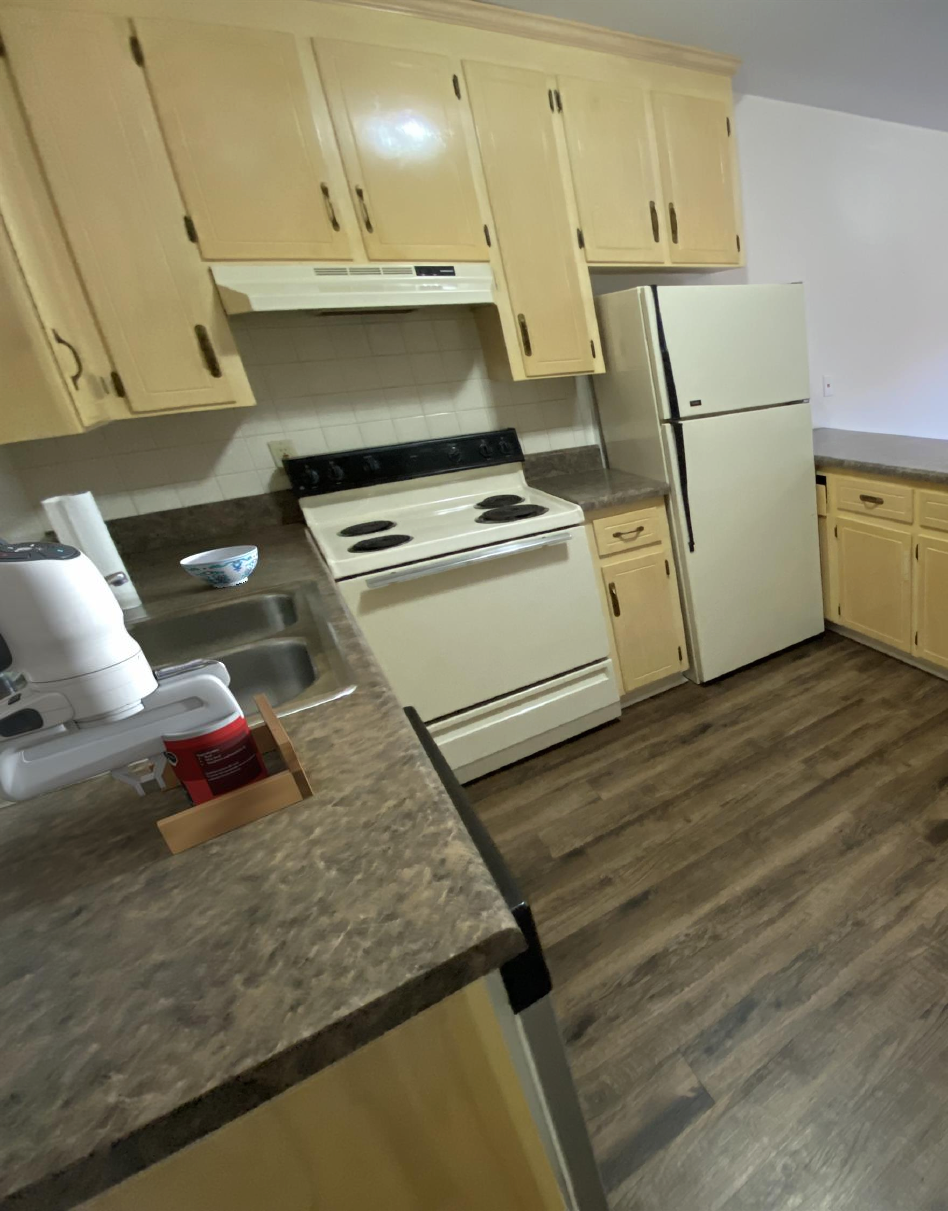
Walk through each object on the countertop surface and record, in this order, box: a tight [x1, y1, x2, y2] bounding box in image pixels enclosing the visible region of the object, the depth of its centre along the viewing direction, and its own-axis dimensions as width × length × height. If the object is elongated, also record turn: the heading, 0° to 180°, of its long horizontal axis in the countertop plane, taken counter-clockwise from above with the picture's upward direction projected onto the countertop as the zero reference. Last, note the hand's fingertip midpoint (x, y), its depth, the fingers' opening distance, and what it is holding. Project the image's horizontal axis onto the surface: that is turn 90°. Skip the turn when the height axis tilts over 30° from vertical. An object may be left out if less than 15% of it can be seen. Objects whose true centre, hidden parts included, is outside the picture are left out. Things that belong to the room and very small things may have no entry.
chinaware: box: [179, 545, 259, 589], centre depth 166 cm, size 15×15×8 cm
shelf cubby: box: [147, 693, 315, 856], centre depth 82 cm, size 13×18×8 cm
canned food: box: [161, 711, 270, 808], centre depth 80 cm, size 8×8×11 cm
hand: (154, 789), depth 77 cm, fingers closed
